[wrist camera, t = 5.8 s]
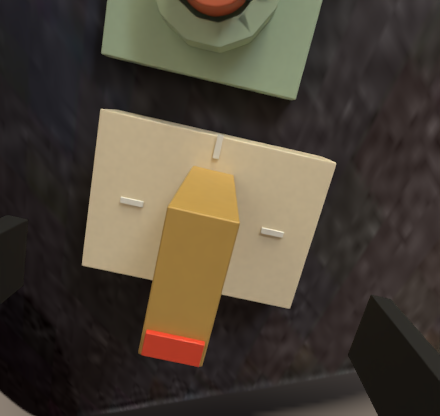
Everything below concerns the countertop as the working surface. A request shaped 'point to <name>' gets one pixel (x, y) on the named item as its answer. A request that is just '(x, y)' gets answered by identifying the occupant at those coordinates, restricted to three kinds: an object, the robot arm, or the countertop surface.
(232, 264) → the plate
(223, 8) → the bell button
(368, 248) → the countertop surface
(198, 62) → the green push button box
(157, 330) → the thumbturn
